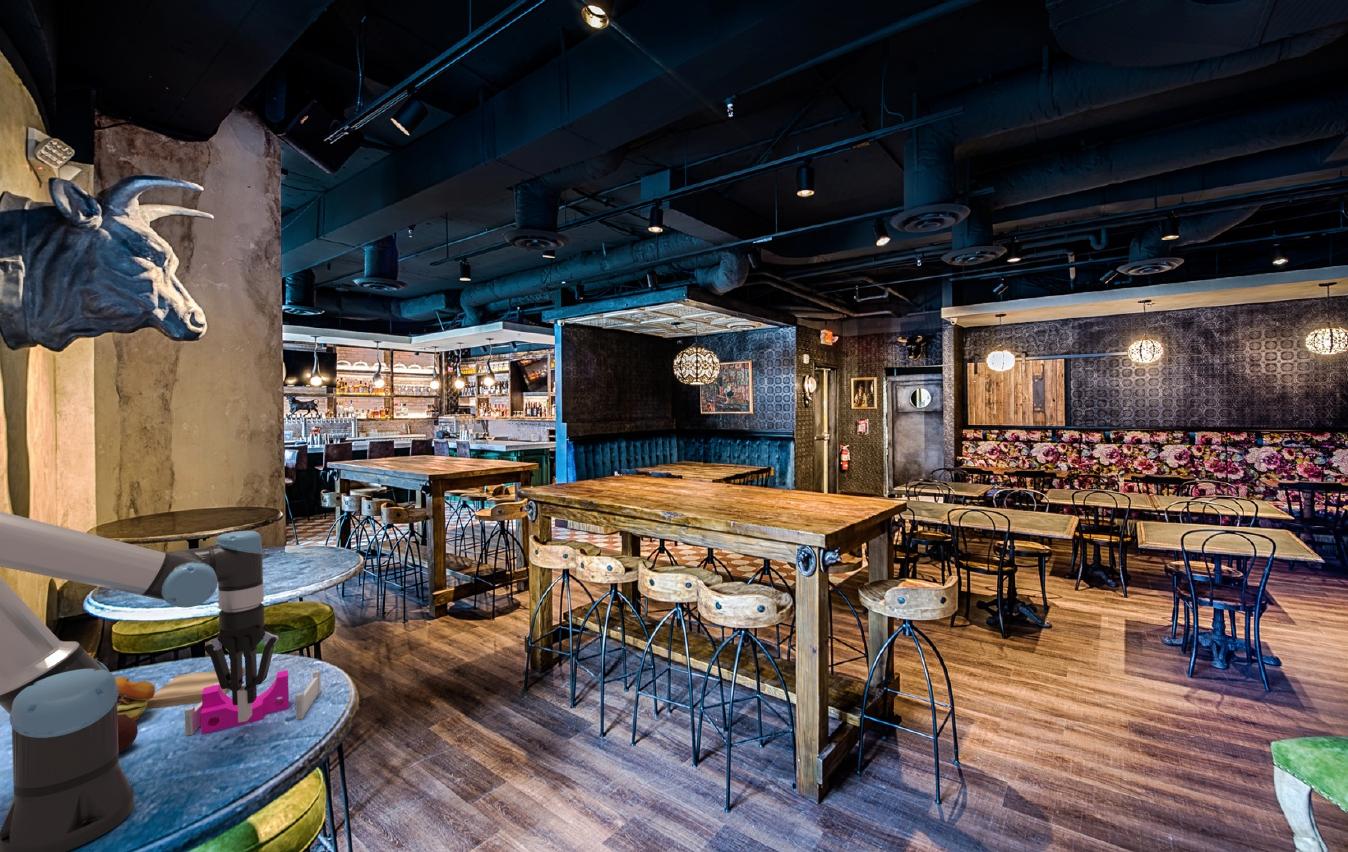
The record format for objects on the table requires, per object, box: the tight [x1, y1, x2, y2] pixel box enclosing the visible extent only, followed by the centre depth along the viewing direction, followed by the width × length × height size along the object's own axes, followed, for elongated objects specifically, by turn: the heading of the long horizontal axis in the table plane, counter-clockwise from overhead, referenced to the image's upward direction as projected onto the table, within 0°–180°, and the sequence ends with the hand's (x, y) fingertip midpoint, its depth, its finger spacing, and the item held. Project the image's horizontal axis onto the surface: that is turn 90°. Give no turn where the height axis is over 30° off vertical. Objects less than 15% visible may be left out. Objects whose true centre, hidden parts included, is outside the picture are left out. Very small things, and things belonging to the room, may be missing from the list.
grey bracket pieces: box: [184, 669, 322, 737], centre depth 127 cm, size 13×21×5 cm, turn 107°
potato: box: [118, 715, 139, 754], centre depth 112 cm, size 7×8×7 cm
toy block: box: [200, 669, 290, 735], centre depth 125 cm, size 15×6×8 cm, turn 124°
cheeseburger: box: [114, 676, 156, 722], centre depth 123 cm, size 10×11×10 cm
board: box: [145, 666, 245, 710], centre depth 138 cm, size 14×14×2 cm
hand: (245, 718), depth 120 cm, fingers closed
